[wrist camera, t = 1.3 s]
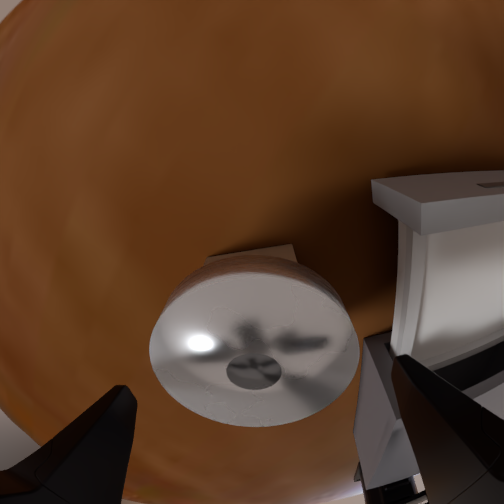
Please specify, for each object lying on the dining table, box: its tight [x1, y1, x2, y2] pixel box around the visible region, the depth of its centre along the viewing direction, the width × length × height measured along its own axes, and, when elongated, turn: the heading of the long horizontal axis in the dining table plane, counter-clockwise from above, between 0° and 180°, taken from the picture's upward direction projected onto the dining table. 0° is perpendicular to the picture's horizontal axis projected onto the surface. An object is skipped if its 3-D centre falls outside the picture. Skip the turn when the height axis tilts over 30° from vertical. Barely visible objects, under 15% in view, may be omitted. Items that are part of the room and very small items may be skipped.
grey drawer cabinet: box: [353, 332, 504, 490], centre depth 14 cm, size 11×13×6 cm
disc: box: [149, 255, 360, 427], centre depth 9 cm, size 7×7×2 cm
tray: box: [371, 170, 504, 371], centre depth 10 cm, size 11×13×4 cm
